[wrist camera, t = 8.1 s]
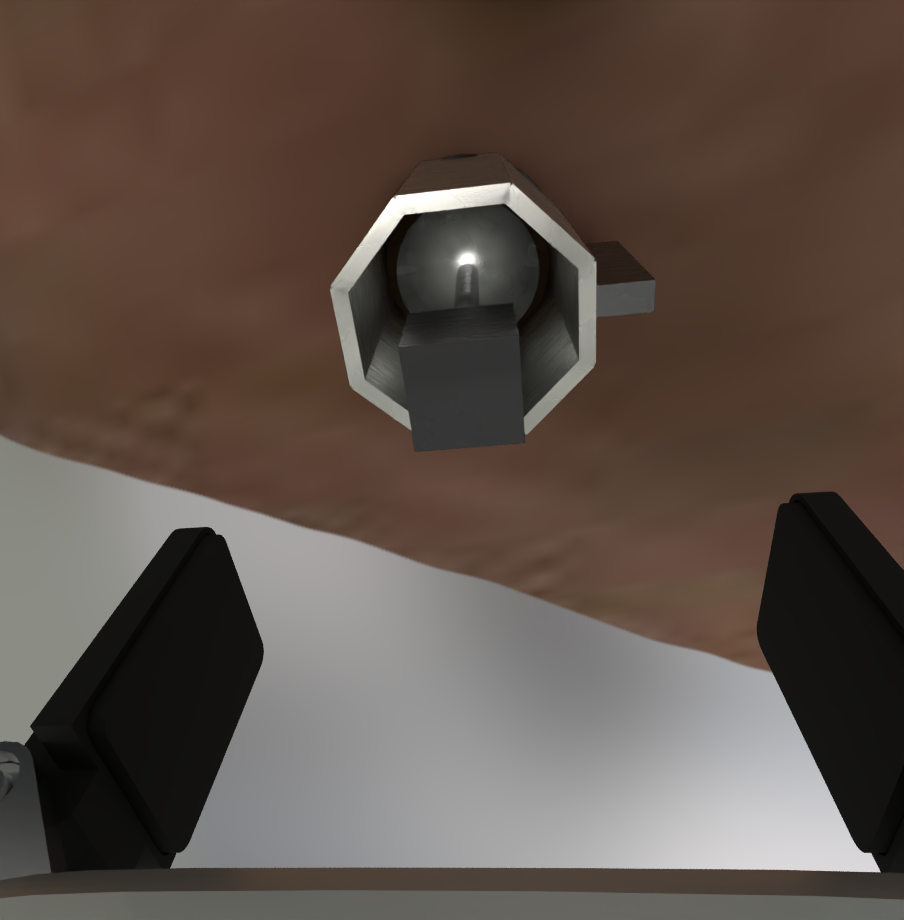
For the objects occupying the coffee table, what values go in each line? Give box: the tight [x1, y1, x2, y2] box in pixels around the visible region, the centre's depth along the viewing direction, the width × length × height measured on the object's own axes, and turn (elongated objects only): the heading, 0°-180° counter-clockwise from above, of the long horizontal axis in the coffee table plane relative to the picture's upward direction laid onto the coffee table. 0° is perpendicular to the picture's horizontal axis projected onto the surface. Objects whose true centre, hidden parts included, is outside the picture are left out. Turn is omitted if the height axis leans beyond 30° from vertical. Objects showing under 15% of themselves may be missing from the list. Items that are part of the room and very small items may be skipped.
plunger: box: [397, 204, 539, 452], centre depth 23 cm, size 7×7×14 cm
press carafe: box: [330, 152, 656, 434], centre depth 28 cm, size 12×9×12 cm
